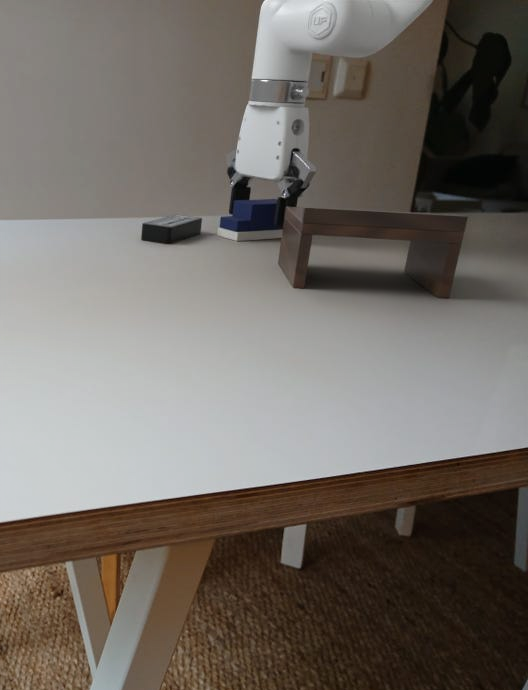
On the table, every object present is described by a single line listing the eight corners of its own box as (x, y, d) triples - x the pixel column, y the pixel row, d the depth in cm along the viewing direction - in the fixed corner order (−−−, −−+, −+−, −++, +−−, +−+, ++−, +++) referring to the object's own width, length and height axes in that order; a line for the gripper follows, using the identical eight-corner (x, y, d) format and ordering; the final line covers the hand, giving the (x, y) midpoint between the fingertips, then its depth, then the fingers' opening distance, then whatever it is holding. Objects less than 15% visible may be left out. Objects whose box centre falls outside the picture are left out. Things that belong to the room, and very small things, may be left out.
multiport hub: (139, 239, 103) (141, 222, 102) (174, 229, 111) (175, 214, 110) (168, 244, 100) (170, 227, 100) (201, 233, 109) (203, 217, 108)
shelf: (414, 272, 89) (429, 200, 86) (449, 298, 78) (468, 216, 75) (277, 263, 91) (287, 192, 88) (292, 287, 80) (305, 207, 77)
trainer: (269, 231, 112) (274, 198, 110) (290, 237, 108) (295, 202, 106) (217, 235, 108) (220, 200, 106) (236, 241, 104) (241, 205, 102)
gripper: (346, 98, 96) (323, 229, 102) (256, 94, 110) (241, 209, 117) (302, 96, 93) (282, 232, 99) (216, 92, 107) (202, 210, 113)
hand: (259, 219), depth 108 cm, fingers open, 9 cm apart
